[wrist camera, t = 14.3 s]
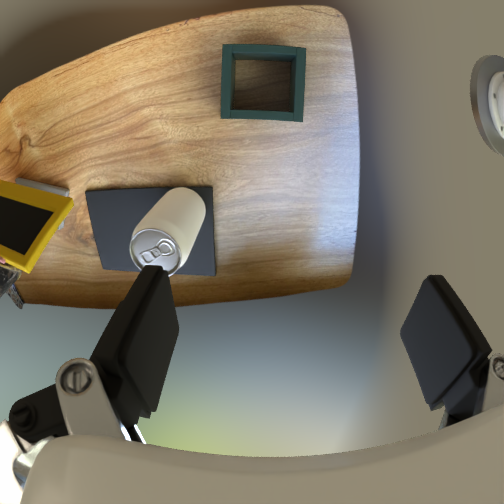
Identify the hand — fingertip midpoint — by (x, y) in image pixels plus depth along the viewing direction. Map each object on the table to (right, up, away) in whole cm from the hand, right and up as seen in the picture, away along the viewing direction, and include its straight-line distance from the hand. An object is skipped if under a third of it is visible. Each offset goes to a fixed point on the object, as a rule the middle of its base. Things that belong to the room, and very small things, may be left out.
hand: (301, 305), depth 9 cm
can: (-11, +8, +27) cm, 30 cm away
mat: (-17, +5, +29) cm, 34 cm away
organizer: (0, +22, +19) cm, 29 cm away
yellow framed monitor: (-38, +11, +26) cm, 47 cm away
